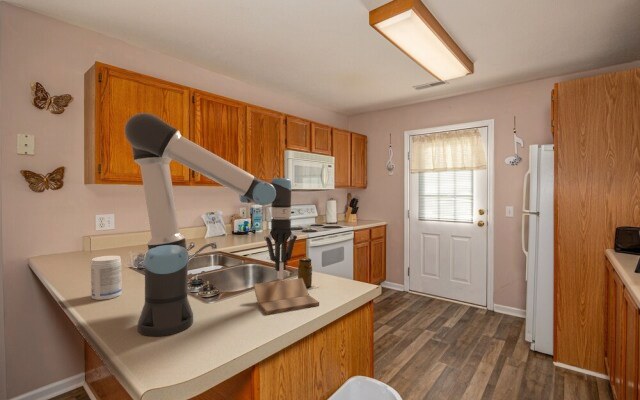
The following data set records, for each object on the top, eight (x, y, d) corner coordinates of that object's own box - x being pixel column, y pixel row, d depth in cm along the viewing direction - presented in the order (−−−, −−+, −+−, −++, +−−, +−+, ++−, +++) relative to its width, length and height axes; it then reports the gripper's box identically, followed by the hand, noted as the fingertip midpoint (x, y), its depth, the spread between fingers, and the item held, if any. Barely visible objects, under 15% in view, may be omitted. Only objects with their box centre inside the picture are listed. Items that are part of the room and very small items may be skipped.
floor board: (266, 314, 106) (266, 311, 106) (258, 305, 113) (258, 302, 113) (319, 305, 115) (319, 302, 115) (308, 297, 123) (308, 294, 123)
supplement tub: (126, 292, 125) (127, 255, 124) (111, 300, 115) (111, 260, 114) (101, 292, 124) (101, 254, 124) (84, 300, 115) (84, 260, 114)
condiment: (306, 282, 142) (307, 256, 142) (318, 287, 136) (318, 260, 136) (293, 285, 138) (293, 258, 137) (304, 290, 131) (305, 262, 131)
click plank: (258, 305, 114) (258, 303, 113) (253, 285, 119) (254, 284, 119) (308, 297, 123) (308, 295, 123) (301, 279, 129) (302, 278, 128)
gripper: (268, 219, 115) (267, 283, 116) (300, 218, 121) (299, 279, 122) (261, 217, 122) (261, 278, 123) (292, 216, 128) (291, 274, 129)
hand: (280, 278), depth 123 cm, fingers closed
